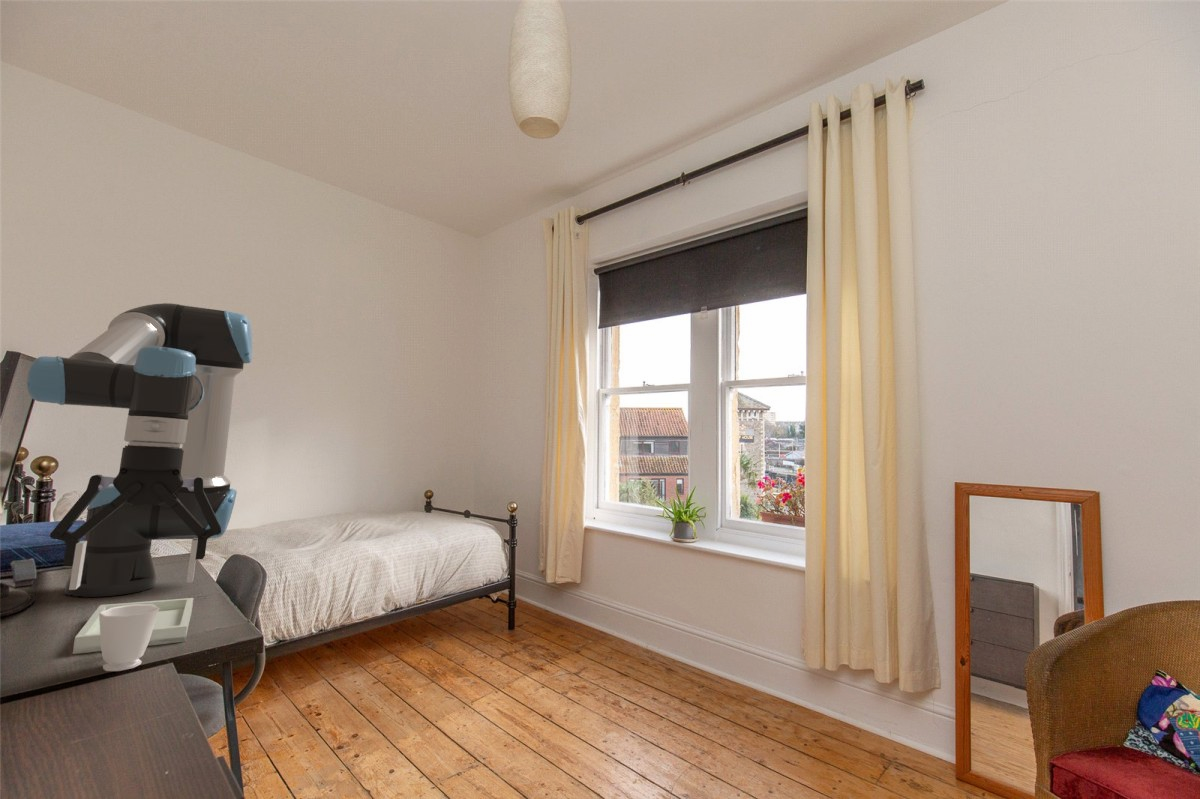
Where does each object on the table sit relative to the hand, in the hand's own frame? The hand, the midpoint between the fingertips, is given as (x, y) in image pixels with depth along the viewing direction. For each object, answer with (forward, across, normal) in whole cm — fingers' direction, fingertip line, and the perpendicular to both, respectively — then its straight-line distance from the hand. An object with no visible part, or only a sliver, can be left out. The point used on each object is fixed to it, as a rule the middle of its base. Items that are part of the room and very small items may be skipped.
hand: (134, 584), depth 84 cm
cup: (+12, 0, 0) cm, 12 cm away
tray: (+11, 0, +18) cm, 21 cm away
